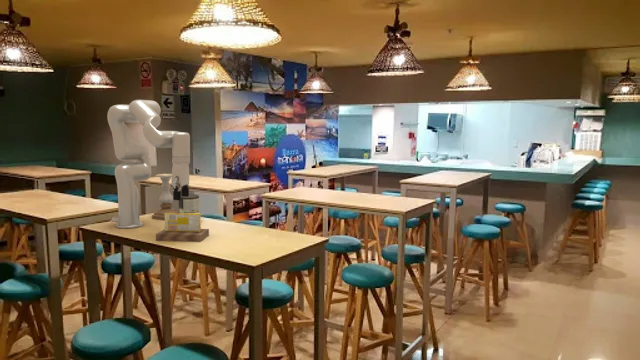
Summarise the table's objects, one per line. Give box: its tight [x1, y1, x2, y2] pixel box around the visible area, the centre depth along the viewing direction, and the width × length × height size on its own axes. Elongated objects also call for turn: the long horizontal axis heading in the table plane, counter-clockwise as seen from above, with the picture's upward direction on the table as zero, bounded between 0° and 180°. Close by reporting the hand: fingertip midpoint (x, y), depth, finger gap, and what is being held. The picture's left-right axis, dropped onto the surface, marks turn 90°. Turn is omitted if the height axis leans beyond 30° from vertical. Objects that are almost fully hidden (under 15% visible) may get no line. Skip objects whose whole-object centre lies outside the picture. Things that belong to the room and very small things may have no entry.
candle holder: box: [151, 173, 179, 221], centre depth 250 cm, size 11×11×24 cm
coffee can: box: [178, 193, 200, 214], centre depth 240 cm, size 10×10×14 cm
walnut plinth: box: [155, 228, 210, 243], centre depth 207 cm, size 20×12×3 cm, turn 86°
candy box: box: [164, 212, 202, 232], centre depth 207 cm, size 16×2×8 cm, turn 85°
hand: (181, 198), depth 206 cm, fingers open, 9 cm apart
